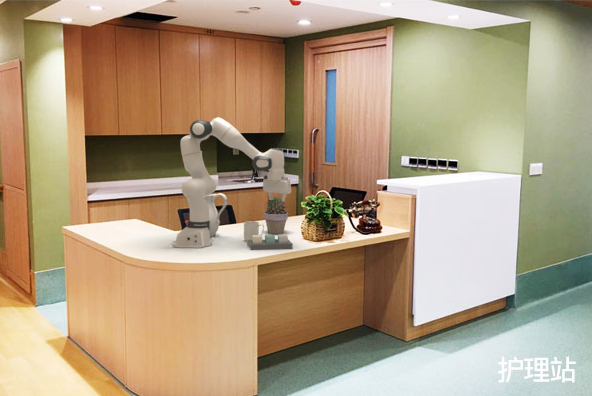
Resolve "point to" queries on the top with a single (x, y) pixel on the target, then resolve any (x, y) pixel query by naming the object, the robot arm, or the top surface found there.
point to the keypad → (269, 245)
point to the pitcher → (214, 211)
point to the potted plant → (275, 216)
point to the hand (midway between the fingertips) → (277, 200)
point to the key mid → (269, 238)
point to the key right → (282, 238)
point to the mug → (251, 229)
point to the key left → (256, 238)
